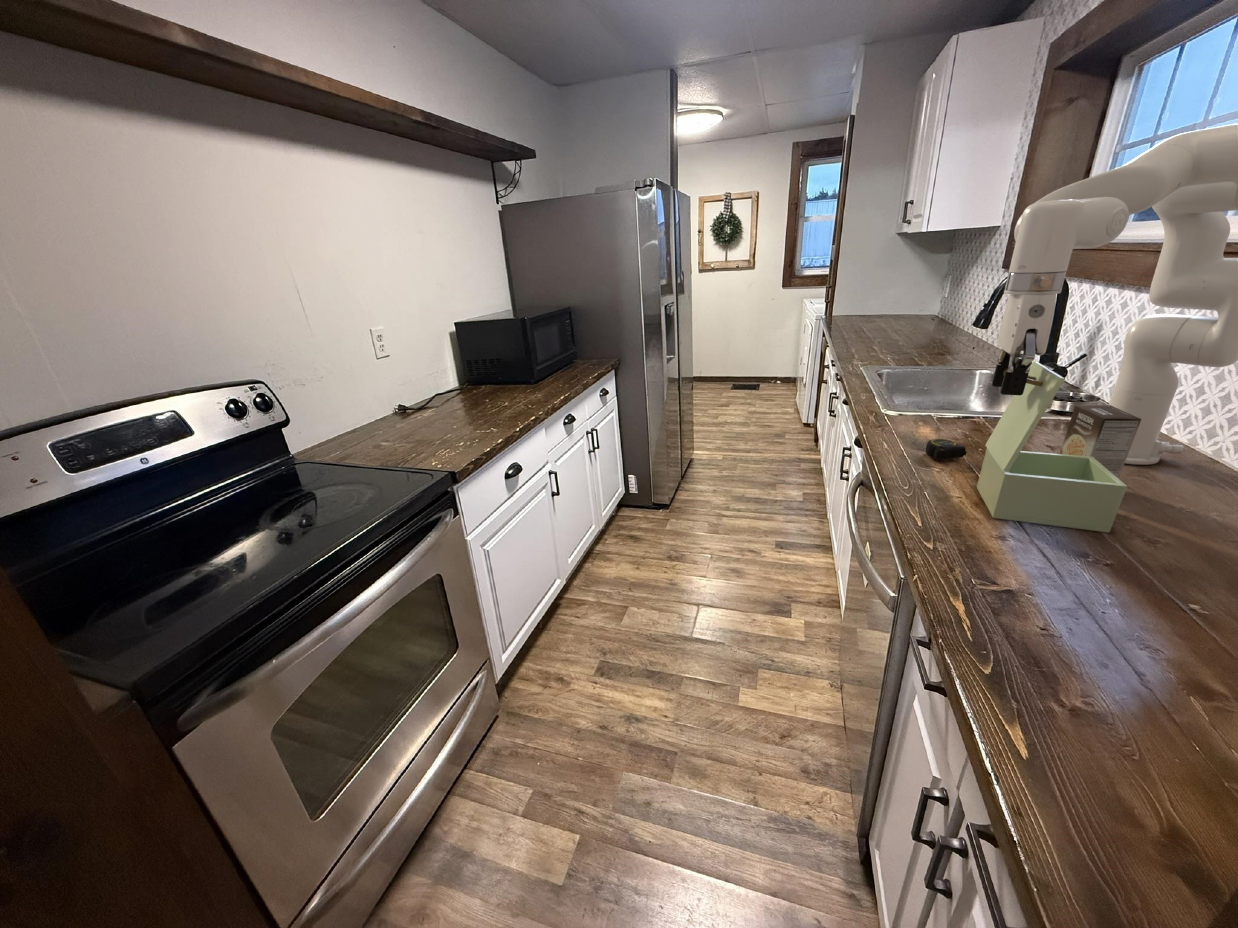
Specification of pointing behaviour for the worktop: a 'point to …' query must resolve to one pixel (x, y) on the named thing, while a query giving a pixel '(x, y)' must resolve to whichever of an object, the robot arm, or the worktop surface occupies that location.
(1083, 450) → the coffee box
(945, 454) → the tape measure
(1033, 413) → the lid
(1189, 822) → the worktop surface
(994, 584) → the worktop surface
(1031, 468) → the chest
